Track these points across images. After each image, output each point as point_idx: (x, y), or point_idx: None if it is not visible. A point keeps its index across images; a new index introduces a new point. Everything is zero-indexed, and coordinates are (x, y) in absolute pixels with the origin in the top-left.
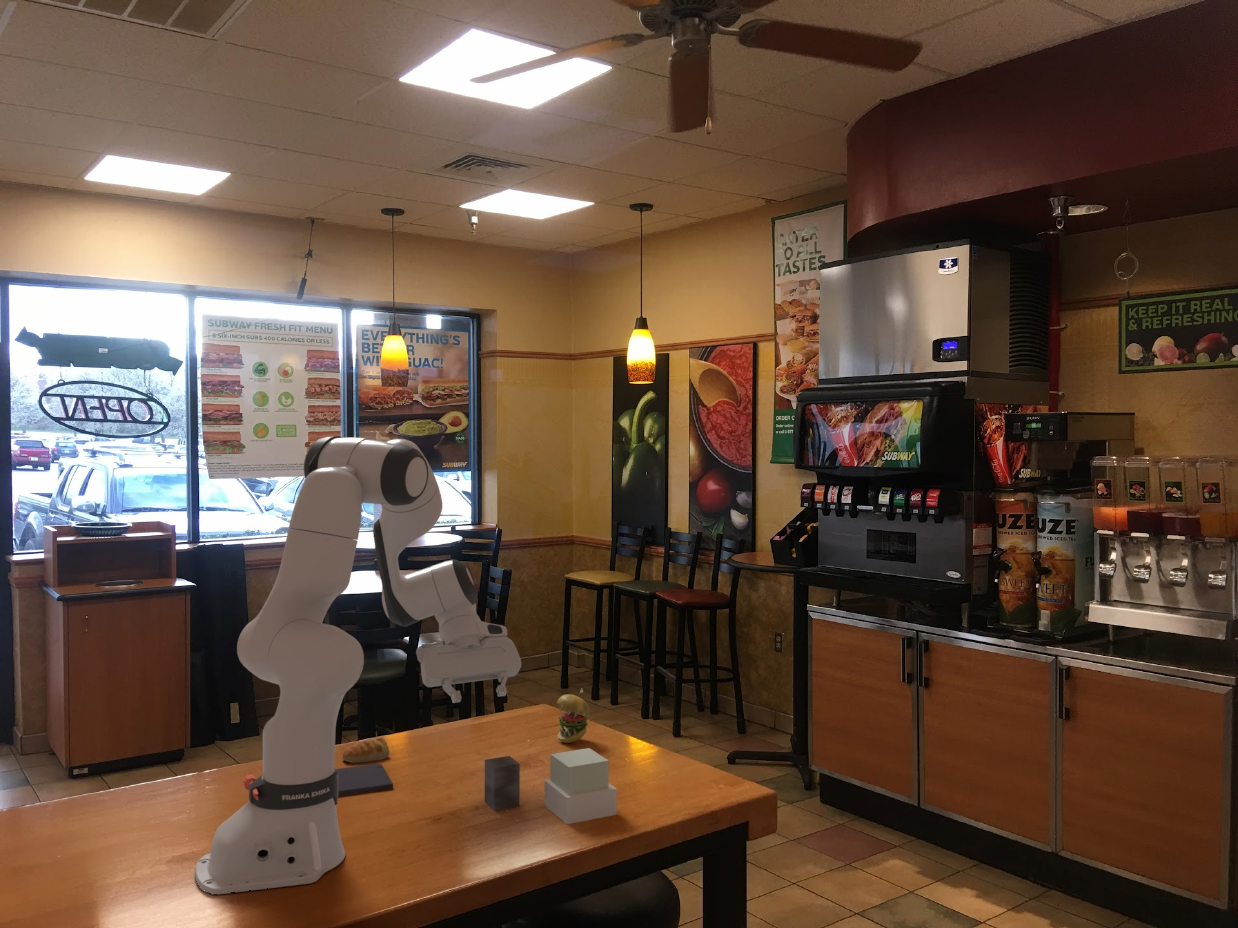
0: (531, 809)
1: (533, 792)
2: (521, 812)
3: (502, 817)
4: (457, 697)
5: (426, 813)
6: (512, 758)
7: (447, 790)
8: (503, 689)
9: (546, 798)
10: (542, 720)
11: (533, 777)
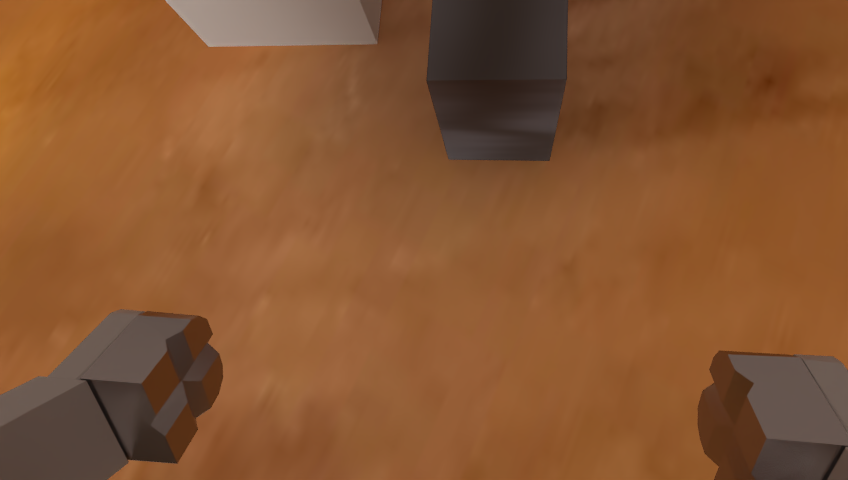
0: None
1: (352, 161)
2: None
3: None
4: (789, 358)
5: (801, 150)
6: (431, 41)
7: (645, 345)
8: (134, 326)
9: (372, 10)
10: None
11: (274, 304)
